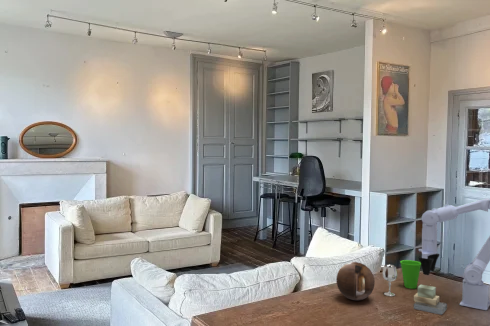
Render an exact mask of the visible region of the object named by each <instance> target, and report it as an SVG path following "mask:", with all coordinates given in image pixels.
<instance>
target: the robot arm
mask: <svg viewBox="0 0 490 326" xmlns="http://www.w3.org/2000/svg"><path fill="white" fill-rule="evenodd" d="M478 210H479V211H483V212H487V213H488V212H489V210H490V197H486V198H482V199H477V200H475V201H472V202H467V203H465V204H461V205H457V206H454V205H452V204H450V205H449V204H448V203H447V204H444V205H443V206H441V207H439V208H436V207H434V208H432V209H431V210H430V209H428V210H426V211H425V212H424V213H422V214H421V215H422V216H421V222H422V224H421V225H422V226H421V227H422V228H421V248H418V251H419V252H421V255H420V256H418V262H420V263H421V269H422V274H423V275H425V276H430V273H431V272H434V271H435V269H436V264H437V261H438V258H439V257H440V253H438V228H437V227H438V226H437V223H439V224H440V223H444V222H448V221H451V220H455V219H457V218H458V216H459V215H462V214H466V213H470V212H475V211H478ZM489 263H490V235H489V236H488V238H487V239H486V241H485V242H484V244H483V245H482V247H481V249H480V250H479V251H478V253H477V254H476V256H475V257H474V259H473V260H472V261H471V262H470V263H468V264H466V265H465V266H464V267H465V268H464V272H463V278H462V292H461V293H462V295H461V296H462V297H461V299H462V300H461V301H460V303H459V306H462V307H467V308H472V309H477V310H481V311H482V310H483V311H488V309H489V307H490V285H489V284H485V283H484V281H483V280H482V279H483V273H484V272H485V270H486V268H487V266H488V264H489Z"/></svg>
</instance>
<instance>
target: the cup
mask: <svg viewBox="0 0 490 326" xmlns="http://www.w3.org/2000/svg"><path fill="white" fill-rule="evenodd" d="M399 263H400V266H401V273H402V279H403V285H404V288H406V289H412V290H414V289H417V288H418V284H419V283H418V282H419V278H420V271H421V268H422V266H421V263H420V261H419V260H418V261H417V260H413V259H412V260H411V259H404V260H400V261H399Z"/></svg>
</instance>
